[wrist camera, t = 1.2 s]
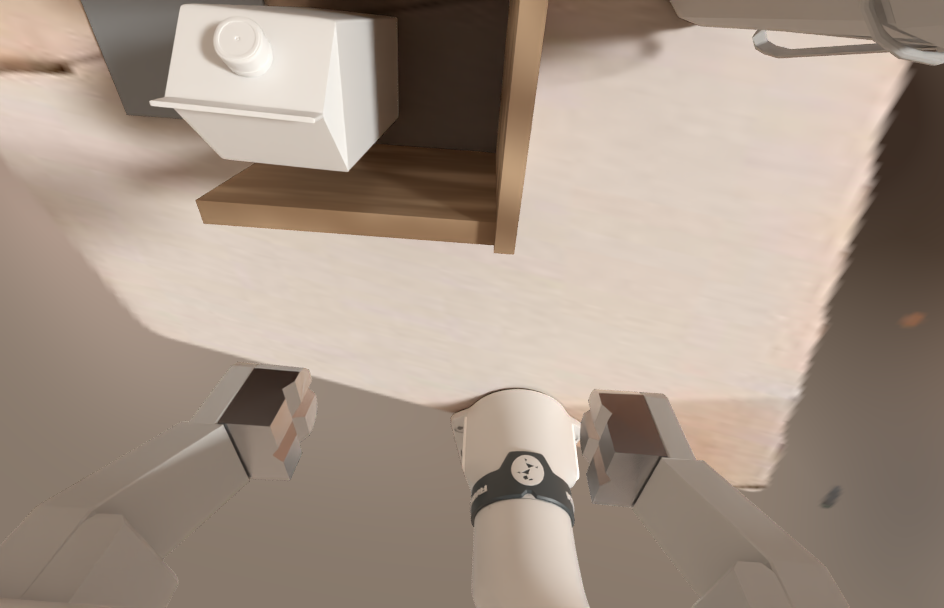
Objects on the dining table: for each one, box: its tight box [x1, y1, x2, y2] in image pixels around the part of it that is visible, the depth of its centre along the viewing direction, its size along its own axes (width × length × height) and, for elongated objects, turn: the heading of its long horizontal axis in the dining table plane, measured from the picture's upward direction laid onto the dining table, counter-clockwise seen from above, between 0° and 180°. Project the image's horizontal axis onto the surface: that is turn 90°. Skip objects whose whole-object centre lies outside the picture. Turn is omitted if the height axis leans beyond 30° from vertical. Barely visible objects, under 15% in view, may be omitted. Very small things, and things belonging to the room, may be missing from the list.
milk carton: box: [149, 4, 399, 172], centre depth 25 cm, size 7×7×19 cm
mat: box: [81, 0, 265, 119], centre depth 33 cm, size 10×14×1 cm
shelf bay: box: [196, 0, 549, 254], centre depth 26 cm, size 15×19×16 cm
